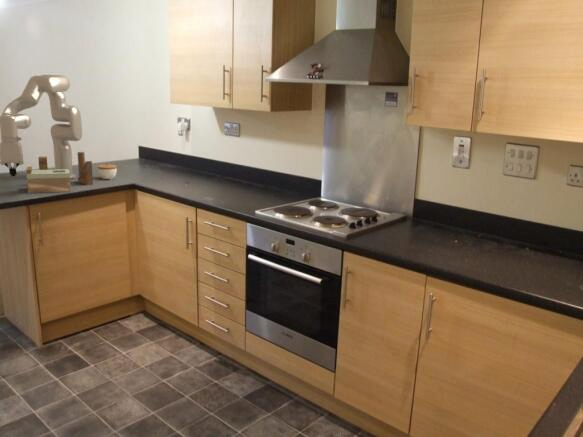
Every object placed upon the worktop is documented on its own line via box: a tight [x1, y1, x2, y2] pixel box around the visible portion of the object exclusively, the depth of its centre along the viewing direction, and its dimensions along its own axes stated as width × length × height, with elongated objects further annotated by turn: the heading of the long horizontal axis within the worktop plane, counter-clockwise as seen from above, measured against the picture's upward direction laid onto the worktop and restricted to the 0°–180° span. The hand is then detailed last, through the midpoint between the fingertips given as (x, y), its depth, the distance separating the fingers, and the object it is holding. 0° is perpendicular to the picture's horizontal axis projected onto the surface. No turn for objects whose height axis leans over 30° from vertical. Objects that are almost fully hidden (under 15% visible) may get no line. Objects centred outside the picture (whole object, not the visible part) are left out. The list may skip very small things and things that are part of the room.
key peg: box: [38, 156, 49, 170], centre depth 289 cm, size 4×4×16 cm
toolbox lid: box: [25, 166, 70, 180], centre depth 277 cm, size 12×20×4 cm, turn 113°
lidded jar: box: [97, 162, 118, 180], centre depth 317 cm, size 11×11×9 cm
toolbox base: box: [26, 178, 71, 194], centre depth 279 cm, size 12×20×8 cm, turn 113°
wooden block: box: [77, 151, 94, 186], centre depth 297 cm, size 4×11×18 cm, turn 48°
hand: (13, 175), depth 271 cm, fingers closed
